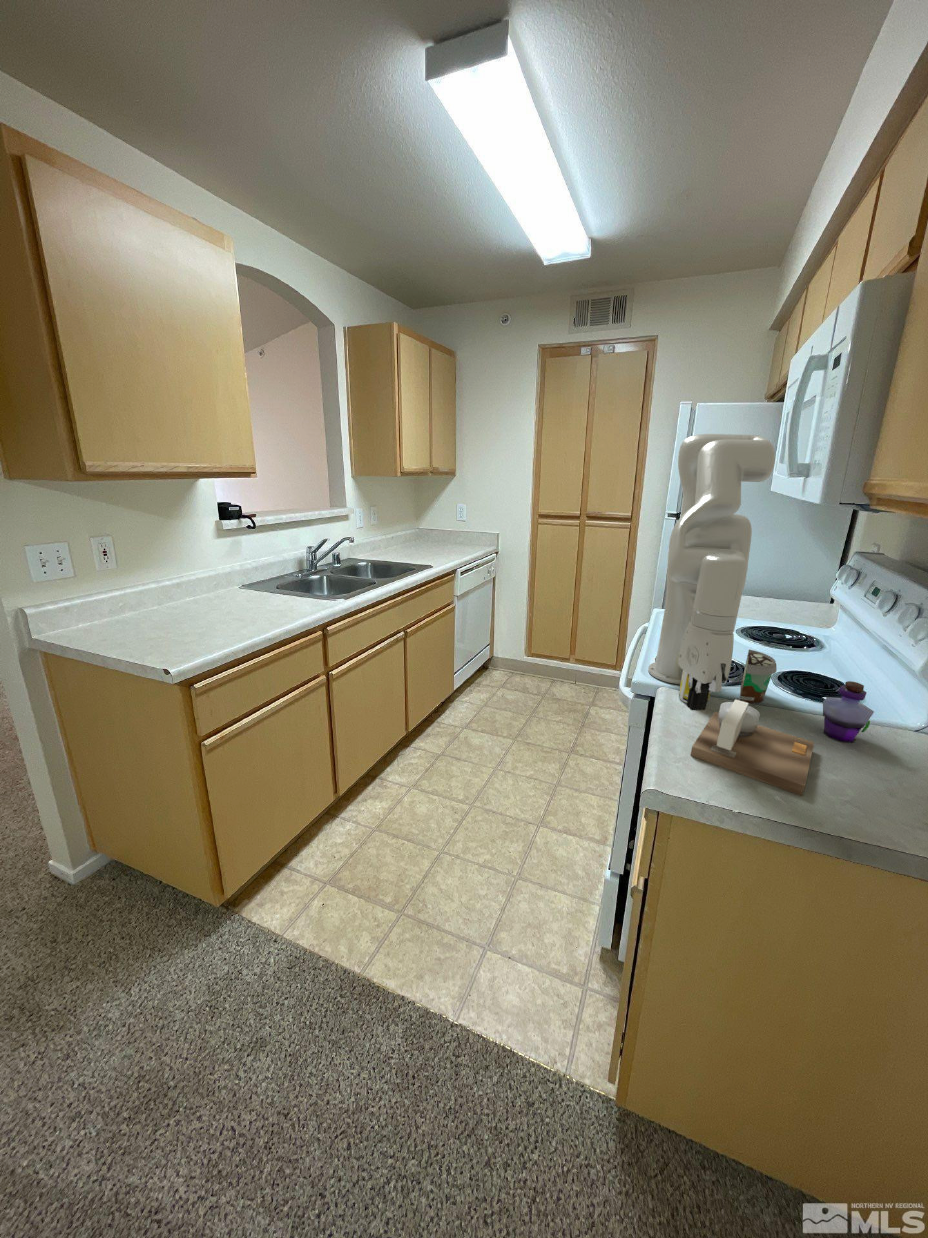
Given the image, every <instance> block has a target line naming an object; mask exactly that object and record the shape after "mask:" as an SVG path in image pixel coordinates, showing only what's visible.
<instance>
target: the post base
mask: <svg viewBox="0 0 928 1238" xmlns="http://www.w3.org/2000/svg"><path fill="white" fill-rule="evenodd" d="M718 715H719V712H717V711H714V712H713V714H712V716H710V718H709V720H708V722H707V723H706V725H705V727H703V729H702V730H701V733H700V734H699V735H698V737H697V738H696V740H695V742H694V743H693V744H692V747H691V752H690V756H691V757H693V758H696V759H699V760H702V761H704V762H708V763H710V764H713V765H716V766H718V767H721V768H724V769H727V770H730V771H732V772H735V773H737V774H740V775H743V776H746V777H748V778H751V779H755V780H756V781H760V782H762V783H765V784H768V785H770V786H773V787H776V788H778V789H782V790H785V791H788V792H789V793H793V794H795V795H799V796H801V797H803V794H804V790H805V788H806V784H807V777H808V774H809V769H810V764H811V759H812V753H813V749H814V744H815V741H812V740H809V739H805V738H801V737H799V736H795V735H792V734H788V733H785V732H783V731H779V730H776V729H772V728H769V727H766V726H762V725H760V724H757V728H756V730H755V731H754V732H740V733H739V735H738V737H737V739H736V741H735V743H734V745H733V747H732V749H731V750H728V749H725V748H722V747H719V746H717V741H718V737H719V732H720V728H721V723H719V721H718Z"/></svg>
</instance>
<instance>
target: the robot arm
mask: <svg viewBox="0 0 928 1238" xmlns="http://www.w3.org/2000/svg"><path fill="white" fill-rule="evenodd" d="M679 447H680V448H679V451H678V459H677V465H678V466H677V467H678V474H679V480H680V483H681V488H682V502H681V503H682V504H681V511H680V518H678V520H677V522H676V523H675V525H674V526H673V529H672V530H671V534H670V538H669V544H668V553H667V554H668V555H667V570H666V595H665V605H664V611H663V617H662V618H663V619H662V623H661V629H660V635H659V641H658V646H657V647H658V648H657V652H656V659H655V662H652V663H651V664H649V665H648V673H649V674H650V675H651V676H652V677H654V678H655V679H657V680H660V681H662V682H666V683H669V684H674V685H681V679H682V674H683V670H684V671H685V672H686V673H687V674H688V676H689V684H688V685H689V687H690V689H689V694H688V699H687V703H686V707H687V708H688V709H690V710H691V711H705V710H706V709H707V704H708V703H707V701H708V702H709V700H708V696H709V697H710V695H709V693H710V694H711V693H712V692H713V693H715V692H720V693H721V692H722V684H726V683H727V681H728V679H729V676H730V672H731V667H732V660H733V654H734V653H733V652H734V637H735V635H734V632H735V628H736V624H737V619H738V615H739V611H740V610H739V609H740V607H741V606H740V604H741V600H742V595H743V591H744V588H745V585H746V582H747V581H746V579H747V575H748V573H747V572H748V569H749V568H748V565H749V558H750V550H751V545H752V544H751V543H752V532H753V531H752V523H751V521H750V519H749V518H748V517H747V516H745V515H742V514H736V513H737V512H738V511H739V509H740V507H741V505H742V482H745V483H746V482H751V483H762V482H765V481H767V479H768V478H769V477H770V476H771V475H772V472H773V470H774V468H775V463H776V453H775V452H776V451H775V448H774V446H773V443H772V442H771V441H770V440H769V439H766V438H765V437H763V436H761V435H757V434H756V435H755V434H729V433H728V434H727V433H725V434H724V433H723V434H722V433H702V434H701V433H700V434H695V435H691V436H688V437H686V438H685V439H684V440H683V441H682V442H681V444H680V446H679Z"/></svg>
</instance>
